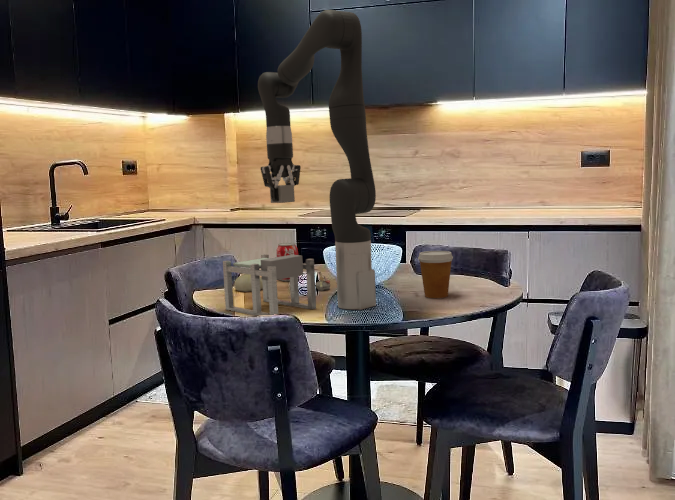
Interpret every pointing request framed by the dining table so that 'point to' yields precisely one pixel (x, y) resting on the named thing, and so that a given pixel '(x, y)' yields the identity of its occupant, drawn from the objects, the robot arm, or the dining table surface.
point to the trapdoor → (278, 265)
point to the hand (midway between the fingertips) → (282, 200)
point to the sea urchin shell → (245, 283)
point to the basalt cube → (285, 194)
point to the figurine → (323, 283)
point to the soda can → (286, 252)
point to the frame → (268, 288)
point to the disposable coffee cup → (435, 272)
